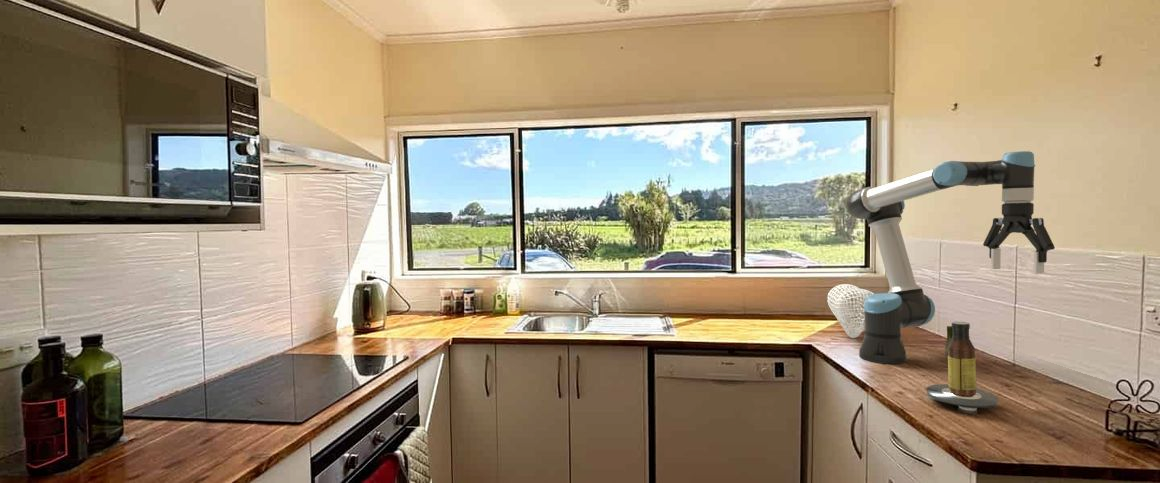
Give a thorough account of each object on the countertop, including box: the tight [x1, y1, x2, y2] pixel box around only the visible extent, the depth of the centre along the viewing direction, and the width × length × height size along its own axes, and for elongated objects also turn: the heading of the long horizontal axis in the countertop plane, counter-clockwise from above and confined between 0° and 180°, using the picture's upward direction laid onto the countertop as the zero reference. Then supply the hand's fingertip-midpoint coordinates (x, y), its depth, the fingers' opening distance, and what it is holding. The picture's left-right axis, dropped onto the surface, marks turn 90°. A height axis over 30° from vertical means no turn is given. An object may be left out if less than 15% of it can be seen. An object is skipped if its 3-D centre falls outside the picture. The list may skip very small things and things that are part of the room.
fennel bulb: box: [944, 325, 953, 358], centre depth 187 cm, size 6×5×12 cm
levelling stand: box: [926, 383, 999, 415], centre depth 144 cm, size 16×16×3 cm
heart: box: [826, 283, 875, 339], centre depth 221 cm, size 28×16×22 cm, turn 172°
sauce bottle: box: [947, 321, 977, 396], centre depth 144 cm, size 7×6×20 cm
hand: (1016, 271), depth 160 cm, fingers open, 13 cm apart
